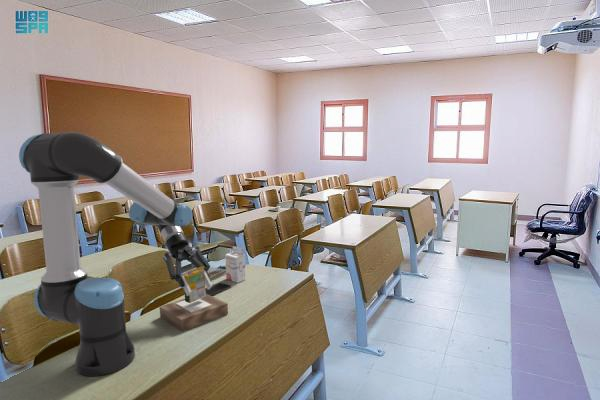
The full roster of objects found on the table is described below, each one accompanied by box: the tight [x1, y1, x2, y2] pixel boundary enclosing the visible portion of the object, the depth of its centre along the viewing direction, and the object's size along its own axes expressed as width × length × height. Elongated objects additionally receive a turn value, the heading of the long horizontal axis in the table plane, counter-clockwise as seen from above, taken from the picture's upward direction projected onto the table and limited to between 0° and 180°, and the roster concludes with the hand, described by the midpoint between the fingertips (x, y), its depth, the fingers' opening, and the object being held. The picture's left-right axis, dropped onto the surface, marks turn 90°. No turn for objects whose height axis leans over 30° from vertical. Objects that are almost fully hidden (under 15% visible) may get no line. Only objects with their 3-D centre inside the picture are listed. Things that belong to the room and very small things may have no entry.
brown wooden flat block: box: [159, 294, 229, 332], centre depth 141 cm, size 18×16×4 cm
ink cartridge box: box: [224, 245, 247, 284], centre depth 178 cm, size 9×5×15 cm, turn 47°
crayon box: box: [182, 266, 206, 303], centre depth 141 cm, size 7×3×12 cm, turn 144°
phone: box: [205, 282, 232, 297], centre depth 165 cm, size 8×1×15 cm
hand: (199, 290), depth 138 cm, fingers closed on crayon box, 7 cm apart
